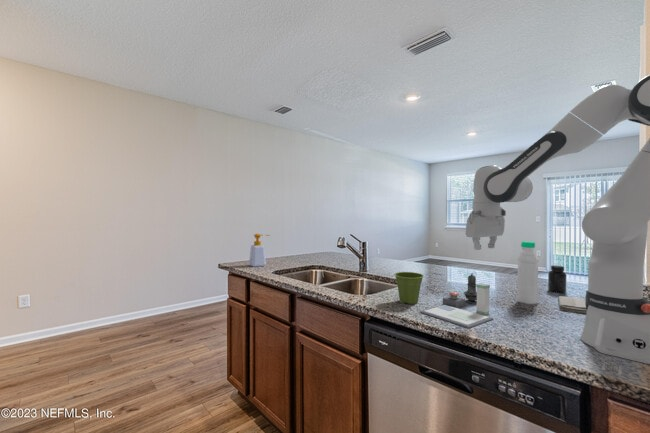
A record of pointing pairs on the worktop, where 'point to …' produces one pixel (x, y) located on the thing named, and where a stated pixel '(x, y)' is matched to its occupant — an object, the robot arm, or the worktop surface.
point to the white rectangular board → (457, 316)
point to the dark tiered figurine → (471, 290)
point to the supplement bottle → (557, 279)
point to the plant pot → (409, 286)
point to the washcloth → (572, 304)
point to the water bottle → (527, 274)
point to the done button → (453, 295)
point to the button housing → (454, 302)
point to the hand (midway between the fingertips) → (484, 248)
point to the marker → (483, 298)
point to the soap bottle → (257, 253)
